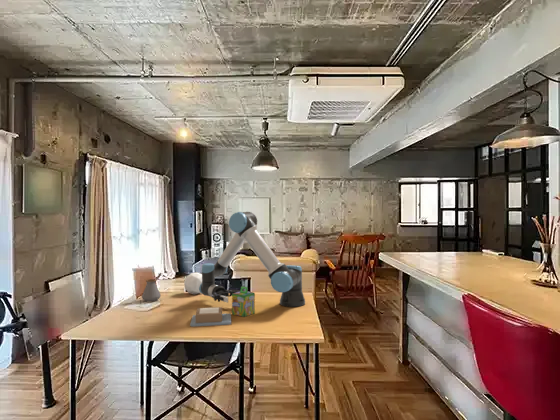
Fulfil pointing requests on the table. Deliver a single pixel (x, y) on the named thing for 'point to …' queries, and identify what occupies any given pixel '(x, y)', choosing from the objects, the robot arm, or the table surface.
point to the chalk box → (243, 302)
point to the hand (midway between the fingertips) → (237, 297)
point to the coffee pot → (151, 290)
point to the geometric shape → (193, 283)
